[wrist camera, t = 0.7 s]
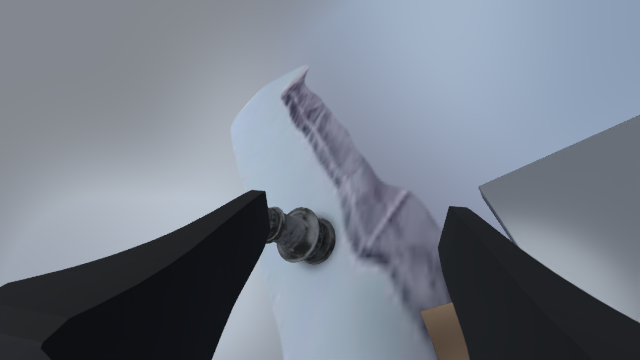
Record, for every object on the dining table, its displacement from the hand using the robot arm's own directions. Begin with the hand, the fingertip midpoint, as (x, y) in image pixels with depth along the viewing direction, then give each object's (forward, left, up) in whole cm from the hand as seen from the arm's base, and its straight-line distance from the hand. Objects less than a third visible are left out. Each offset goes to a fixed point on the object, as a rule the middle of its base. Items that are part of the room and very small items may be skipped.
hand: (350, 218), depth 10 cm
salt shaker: (+7, +12, -15) cm, 20 cm away
